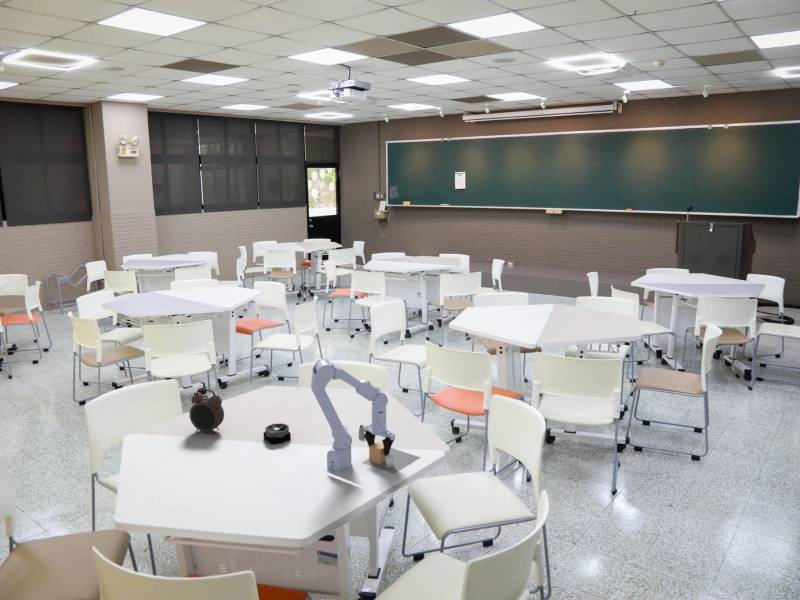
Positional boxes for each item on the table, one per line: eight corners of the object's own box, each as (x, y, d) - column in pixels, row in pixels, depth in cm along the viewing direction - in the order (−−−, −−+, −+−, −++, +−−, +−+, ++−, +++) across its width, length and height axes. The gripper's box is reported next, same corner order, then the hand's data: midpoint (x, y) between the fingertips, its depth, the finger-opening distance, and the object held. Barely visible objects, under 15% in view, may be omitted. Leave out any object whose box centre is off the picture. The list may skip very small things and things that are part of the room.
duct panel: (393, 476, 233) (393, 464, 232) (361, 464, 243) (361, 453, 242) (420, 459, 247) (420, 448, 246) (389, 449, 257) (389, 438, 256)
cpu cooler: (281, 421, 272) (293, 427, 265) (281, 433, 274) (293, 440, 266) (260, 426, 266) (272, 434, 258) (261, 439, 267) (272, 446, 259)
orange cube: (380, 464, 241) (380, 450, 240) (369, 460, 244) (369, 446, 243) (388, 459, 245) (388, 445, 244) (378, 455, 249) (378, 441, 247)
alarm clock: (188, 433, 272) (185, 390, 268) (197, 427, 279) (195, 385, 275) (218, 436, 269) (215, 393, 265) (226, 430, 276) (224, 388, 272)
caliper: (360, 440, 266) (360, 426, 265) (358, 440, 267) (358, 426, 265) (380, 423, 285) (380, 410, 284) (378, 423, 286) (378, 410, 284)
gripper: (399, 421, 241) (399, 453, 243) (371, 413, 249) (371, 444, 252) (388, 426, 235) (388, 459, 238) (360, 418, 243) (360, 450, 246)
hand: (379, 452), depth 244 cm, fingers open, 7 cm apart
